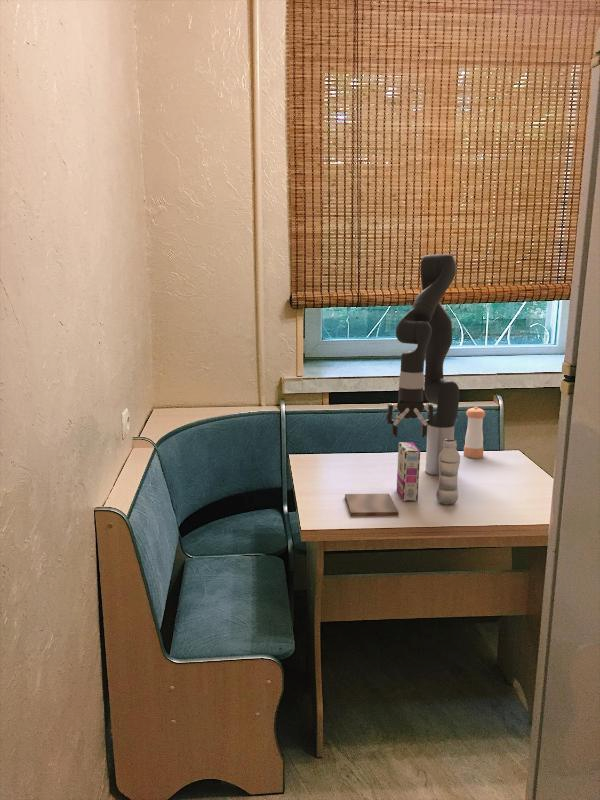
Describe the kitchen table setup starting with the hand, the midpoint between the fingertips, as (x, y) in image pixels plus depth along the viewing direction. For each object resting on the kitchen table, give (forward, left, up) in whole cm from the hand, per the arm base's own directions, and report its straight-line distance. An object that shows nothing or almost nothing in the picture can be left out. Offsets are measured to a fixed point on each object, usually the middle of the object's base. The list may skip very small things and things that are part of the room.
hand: (408, 436), depth 218 cm
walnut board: (+13, +9, -19) cm, 25 cm away
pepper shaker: (-34, -44, -20) cm, 59 cm away
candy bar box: (0, 0, -20) cm, 20 cm away
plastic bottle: (-11, +7, -20) cm, 24 cm away
